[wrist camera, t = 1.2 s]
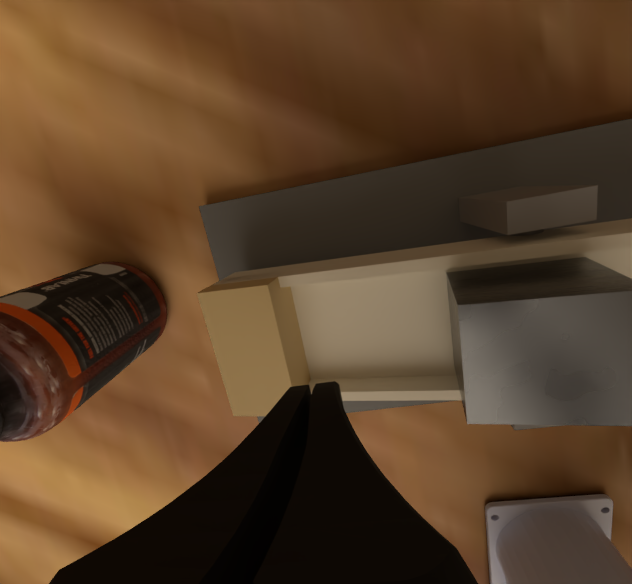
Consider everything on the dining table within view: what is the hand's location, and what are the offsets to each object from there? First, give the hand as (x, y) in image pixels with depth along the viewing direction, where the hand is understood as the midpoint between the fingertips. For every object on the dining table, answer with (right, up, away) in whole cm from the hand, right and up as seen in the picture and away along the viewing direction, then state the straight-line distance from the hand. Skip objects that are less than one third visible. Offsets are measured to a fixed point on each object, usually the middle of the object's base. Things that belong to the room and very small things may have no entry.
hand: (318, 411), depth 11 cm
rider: (+8, +3, +4) cm, 9 cm away
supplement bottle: (-12, +3, +11) cm, 17 cm away
